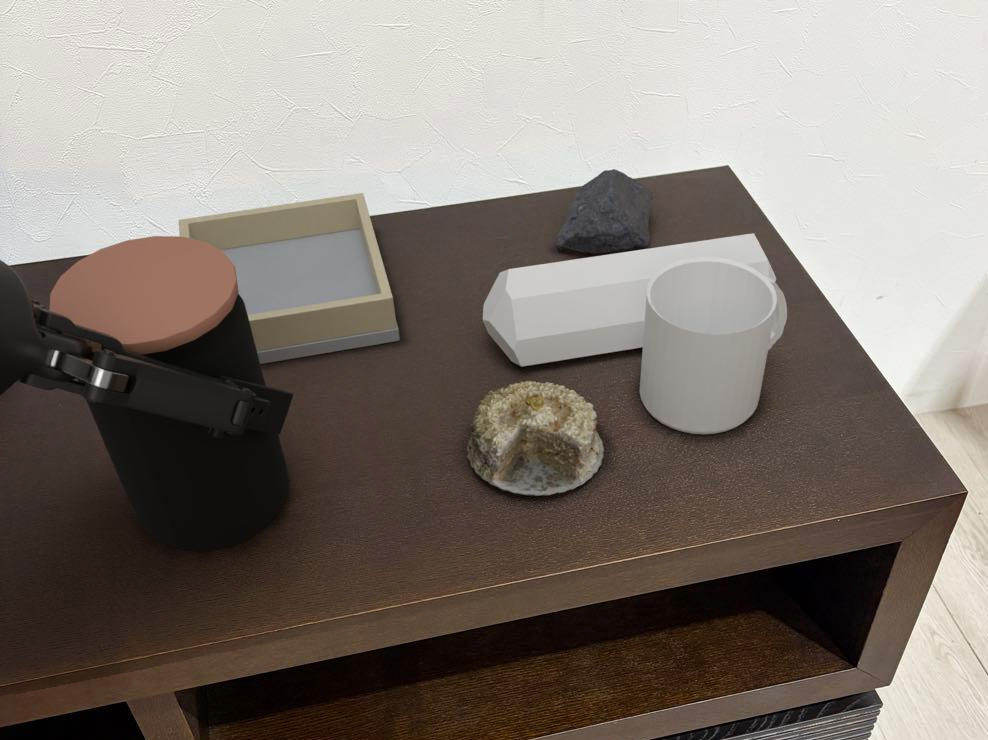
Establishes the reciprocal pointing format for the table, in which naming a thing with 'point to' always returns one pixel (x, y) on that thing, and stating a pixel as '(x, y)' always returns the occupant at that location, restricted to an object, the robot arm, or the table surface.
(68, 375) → the robot arm
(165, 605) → the table surface
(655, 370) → the mug
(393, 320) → the shallow square crate
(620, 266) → the crystal
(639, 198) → the rock
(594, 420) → the cake
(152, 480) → the coffee jar
